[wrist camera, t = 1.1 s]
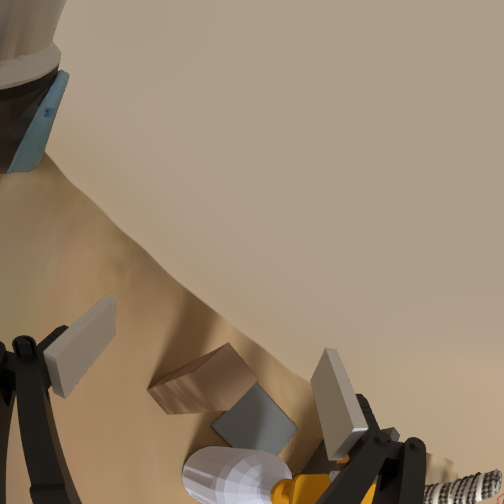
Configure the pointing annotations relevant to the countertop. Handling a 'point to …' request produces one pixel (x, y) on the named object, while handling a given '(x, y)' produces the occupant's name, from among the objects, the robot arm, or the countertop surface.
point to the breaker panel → (332, 467)
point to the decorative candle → (464, 489)
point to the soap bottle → (250, 479)
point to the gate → (205, 384)
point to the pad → (255, 423)
